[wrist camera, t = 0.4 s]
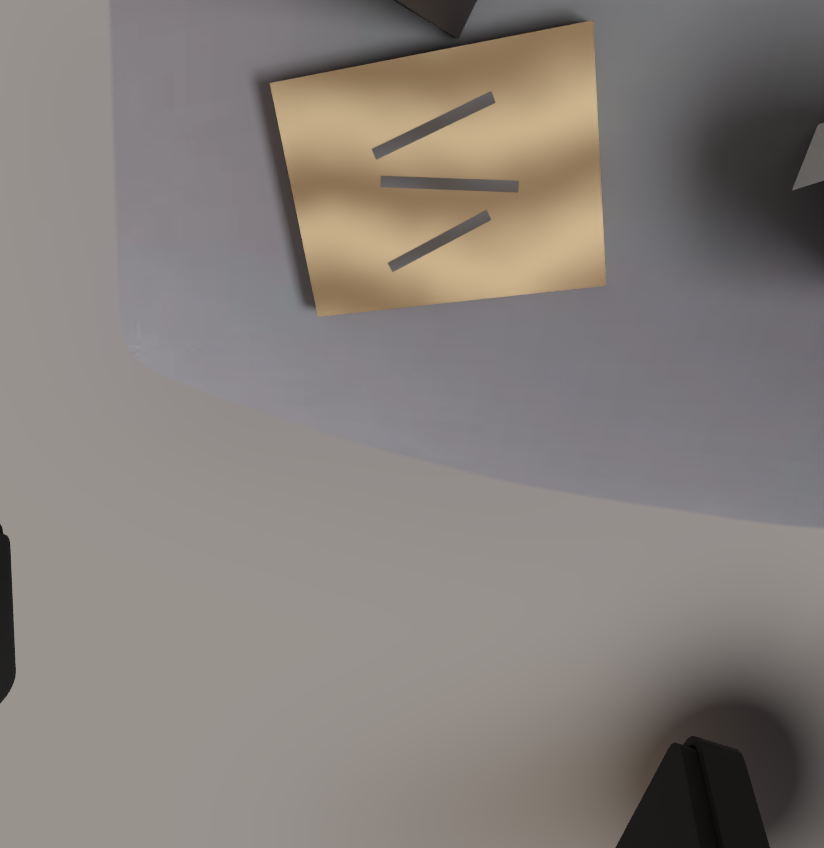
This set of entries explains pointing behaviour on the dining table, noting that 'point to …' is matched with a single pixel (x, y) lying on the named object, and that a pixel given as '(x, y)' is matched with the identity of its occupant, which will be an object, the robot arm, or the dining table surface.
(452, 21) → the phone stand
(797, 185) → the toilet tissue
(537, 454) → the dining table surface
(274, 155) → the dining table surface
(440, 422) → the dining table surface
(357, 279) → the marked board
